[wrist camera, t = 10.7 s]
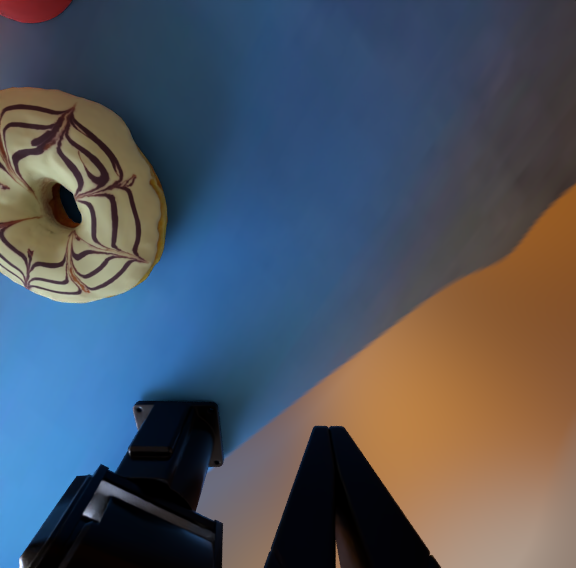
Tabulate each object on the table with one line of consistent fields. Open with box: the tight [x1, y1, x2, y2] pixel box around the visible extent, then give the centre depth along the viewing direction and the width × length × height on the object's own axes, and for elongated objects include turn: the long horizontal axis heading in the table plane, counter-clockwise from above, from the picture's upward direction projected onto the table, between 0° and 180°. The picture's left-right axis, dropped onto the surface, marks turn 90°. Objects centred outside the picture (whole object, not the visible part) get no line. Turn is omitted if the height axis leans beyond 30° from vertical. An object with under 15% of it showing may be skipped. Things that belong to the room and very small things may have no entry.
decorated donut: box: [0, 87, 168, 303], centre depth 16 cm, size 10×11×4 cm
